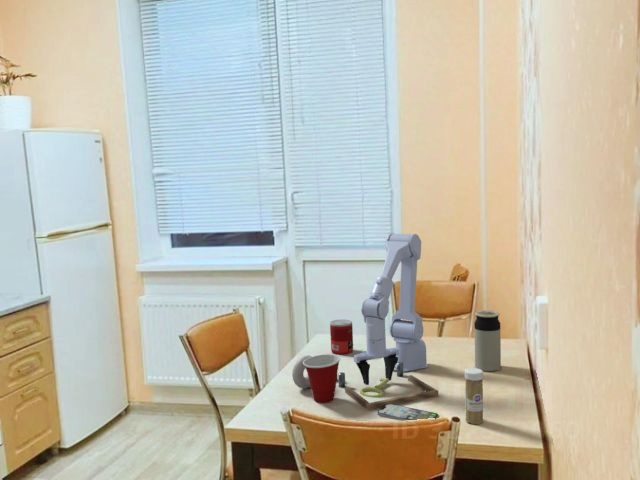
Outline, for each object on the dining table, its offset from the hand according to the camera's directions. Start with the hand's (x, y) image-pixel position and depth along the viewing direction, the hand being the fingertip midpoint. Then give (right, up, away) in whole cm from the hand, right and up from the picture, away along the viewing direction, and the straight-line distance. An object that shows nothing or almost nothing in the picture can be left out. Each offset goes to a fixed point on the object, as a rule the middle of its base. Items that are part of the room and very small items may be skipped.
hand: (377, 381), depth 185 cm
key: (0, -2, -4) cm, 5 cm away
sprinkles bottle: (+22, -4, -29) cm, 36 cm away
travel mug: (+36, +2, +11) cm, 38 cm away
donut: (-21, -2, 0) cm, 22 cm away
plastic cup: (-17, -3, -9) cm, 19 cm away
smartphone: (+6, -4, -23) cm, 24 cm away
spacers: (-3, 0, +7) cm, 7 cm away
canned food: (-9, +2, +35) cm, 36 cm away
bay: (+3, -2, -7) cm, 8 cm away
